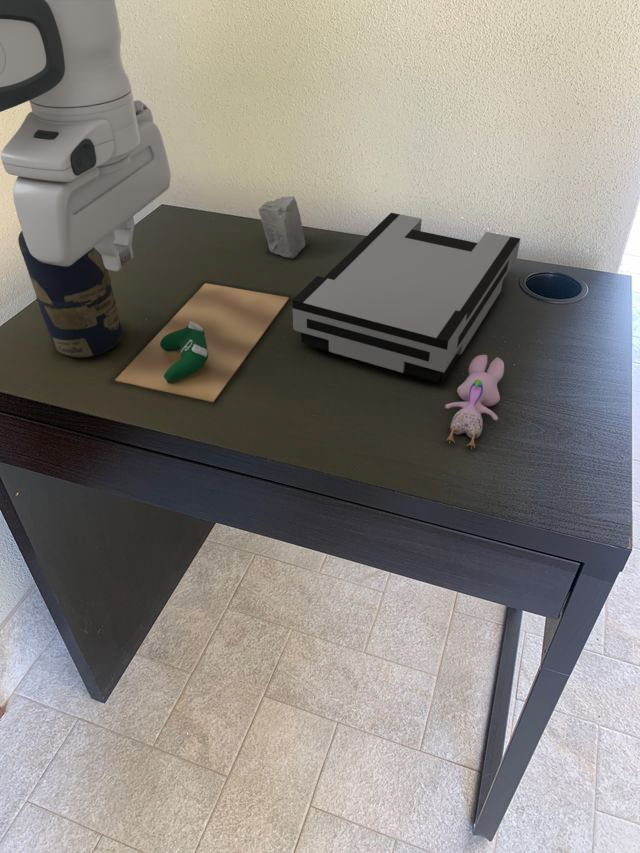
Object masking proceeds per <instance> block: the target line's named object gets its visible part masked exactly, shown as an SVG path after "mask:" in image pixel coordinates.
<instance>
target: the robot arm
mask: <svg viewBox="0 0 640 853" xmlns="http://www.w3.org/2000/svg"><path fill="white" fill-rule="evenodd" d="M121 43H122V31H121V26H120V20H119V15H118V9H117V5H116V1H115V0H0V113H1V112H4V111H7V110H9V109H12V108H15V107H17V106H20V105H22V104H25V103H27V102H29V105H30V109H31V111H29V113H27V114H26V116H25V118H24V120H23V122H22V123H21V125H20V126H19V128H18V130H17V131H16V132H15V133H14V135H13V136H12V137H11V138H10V140H8V142H7V143H6V144H5V146H3V148H2V150H1V153H0V160H1V163H2V166H3V168H4V170H5V172H6V173H7V174H8V175H11V176H16V179H15V181H14V184H13V190H12V196H13V197H12V198H13V203H14V207H15V211H16V215H17V219H18V223H19V226H20V229H21V231H22V232H23V236H24V239H25V242H26V244H27V247H28V249H29V252H30V253H31V255H32V256H33V257H35V258H36V259H37V260H39V261H40V262H42V263H46V264H52V265H58V266H70V265H72V264H73V263H74V262H76V261H77V260H78V259H79V258H81V257H82V256H83V255H84V254H86V253H87V252H88V251H90V250H91V249H92V248H93V247H94V248H95V249H96V250H97V251H98V252H99V253H100V254H101V255H102V259H103V263H104V266H105V268H106V269H108V271H111V272H119V271H120V270H121V269H123V267H125V266H126V264H128V263H130V261H131V260H133V259H134V257H135V256H134V251H133V246H132V245H133V244H132V243H133V238H134V231H135V219H134V218H135V217H134V216H135V215H137V214H139V213H140V212H141V211H142V210H144V209H145V208H146V207H147V206H148V205H150V204H151V203H153V201H155V200H156V199H157V198H159V197H160V196H161V195H162V194H164V193H165V192H166V191H168V189H169V188H170V184H171V178H172V175H171V168H170V164H169V160H168V155H167V151H166V147H165V143H164V139H163V136H162V134H161V130H160V129H159V126H158V125H157V124H156V123H155V122H154V118H153V113H152V110H151V108H149V107H148V105H146V104H145V103H143V102H142V101H141V100H138V99H137V100H134V96H133V91H132V84H131V82H130V79H129V77H128V74H127V73H126V71H125V68H124V65H123V62H122V57H121V56H122V55H121Z"/></svg>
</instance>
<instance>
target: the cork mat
mask: <svg viewBox="0 0 640 853" xmlns="http://www.w3.org/2000/svg"><path fill="white" fill-rule="evenodd" d="M289 300H290V297H288V296H284V295H277V294H272V293H265V292H261V291H260V292H259V291H253V290H248V289H242V288H236V287H230V286H224V285H218V284H213V283H206V282H205V283H204V284H203V285H202V286H201V287H200V288H199V290H197V291H196V292H195V293H194V295H193V296H191V297H190V299H189V300H188V301H187V302H186V303H185V304H184V305H183V306H182V307H181V308H180V309H179V310H178V312H177V313H175V315H174V316H173V317H172V318H171V319H170V320H169V321H168V322H167V324H165V325H164V326H163V328H162V329H161V330H160V331H159V332H158V333H157V334H156V335H155V336H154V337H153V339H151V341H150V342H149V343H147V345H146V346H145V347H144V348H143V349H142V350H141V351H140V352H139V353H138V355H137V356H136V357H135V358H134V359H133V360H131V362H130V363H129V364H128V365H127V366H126V367H125V369H123V370H122V372H121V373H120V374H119V375H118V376H117V377H116V378H115V379H114V381H115V382H116V383H117V382H118V383H122V384H127V385H131V386H136V387H140V388H146V389H148V390H149V389H150V390H155V391H159V392H163V393H167V394H173V395H176V396H182V397H187V398H190V399H194V400H195V399H196V400H200V401H203V402H209V403H214V402H215V401H216V400H217V399H218V397H219V396H220V394H221V393H222V392H223V390H224V389H225V387H226V386H227V385H228V384H229V382H230V381H231V379H232V378H233V376H234V375H235V374H236V372H237V371H238V370H239V369H240V367H241V366H242V364H243V363H244V362H245V361H246V359H247V357H248V356H249V355H250V353H251V352H252V351H253V349H254V348H255V347H256V345H257V344H258V342H259V341H260V339H261V338H262V337H263V335H264V334H265V333H266V331H267V330H268V329H269V327H270V326H271V324H272V323H273V322H274V320H275V319H276V318H277V316H278V315H279V314H280V312H281V311H282V309H283V308H284V307H285V305H286V304H287V303H288V302H289ZM190 321H191V322H194V323H196V324H198V325H199V326H201V327H202V329H203V331H204V333H205V334H204V336H205V339H206V344H207V351H208V359H207V361H206V362H205V364H204V367H203V368H202V367H201V368H200V369H199V370H198V371H196V372H195V373H193V374H192V375H190V376H188V377H186V378H184V379H182V380H179V381H176V382H172V383H168V382H167V381H166V379H165V378H164V374H165V373H166V371H167V370H168V369H169V367H171V366H172V365H173V364H175V363H176V362H177V361H179V360H180V359H182V357H181V350H180V349H177V350H171V351H167V350H164V349H162V348H161V346H160V342H161V340H162V339H163V338H164V337H165V336H166V335H168V334H170V333H172V332H175V331H178V330H181V329H184V328H186V327H187V326H188V325H189V324H190Z"/></svg>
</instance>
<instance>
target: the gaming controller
mask: <svg viewBox="0 0 640 853" xmlns="http://www.w3.org/2000/svg"><path fill="white" fill-rule="evenodd" d="M204 334H205V333H204V331H203V329H202V327H201V326H199V325H198V324H196V323H194V322H191V321H190V324H189V325H188V326H187V327H186V328H184V329H181V330H178V331H175V332H172V333H170V334H168V335H166V336H165V337H164V338H163V339H162V340H161V342H160V346H161V348H162V349H164V350H167V351H171V350H177V349H180V350H181V357H182V359H180V360H179V361H177V362H176V363H175V364H173V365H172V366H171V367H169V369H168V370H167V371H166V373H165V374H164V378H165V379H166V381H167V382H168V383H172V382H176V381H179V380H182V379H184V378H186V377H188V376H190V375H192V374H193V373H195V372H196V371H198V370H199V369H200V368H201V367H202V368H203V367H204V364H205V362H206V361H207V359H208V351H207V344H206V339H205V336H204Z"/></svg>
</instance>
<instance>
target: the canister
mask: <svg viewBox="0 0 640 853" xmlns="http://www.w3.org/2000/svg"><path fill="white" fill-rule="evenodd" d="M17 243H18V246H19V250H20V252H21V255H22V257H23V261H24V263H25V267H26V269H27V273H28V275H29V278H30V282H31V284H32V287H33V290H34V294H35V298H36V301H37V304H38V307H39V310H40V312H41V315H42V318H43V321H44V324H45V326H46V329H47V332H48V335H49V338H50V341H51V344H52V346H53V347H54V349H55V350H56V351H58V352H59V353H60V354H62V355H64V356H67V357H71V358H88V357H89V358H90V357H95V356H97V355H101V354H103V353H105V352H108V351H109V350H110V349H112V348H113V347H115V345H117V344H118V342H119V341H120V339H121V337H122V335H123V334H122V333H123V327H122V323H121V319H120V314H119V311H118V307H117V302H116V299H115V295H114V291H113V287H112V283H111V282H112V281H111V277H110V272H109V270H108V269H106V268H105V266H104V263H103V259H102V255H101V254H100V253H99V252H98V251H97V250H96V249H95V248H94V247H93V248H92V249H91V250H90V251H88V252H87V253H86V254H84V255H83V256H82V257H81V258H79V259H78V260H77V261H76V262H74V263H73V264H72V265H70V266H58V265H52V264H46V263H42V262H40V261H39V260H37V259H36V258H35V257H33V256H32V255H31V253H30V252H29V249H28V247H27V244H26V242H25V239H24V236H23V232H22V230H21V231H20V232H19V234H18V238H17Z"/></svg>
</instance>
